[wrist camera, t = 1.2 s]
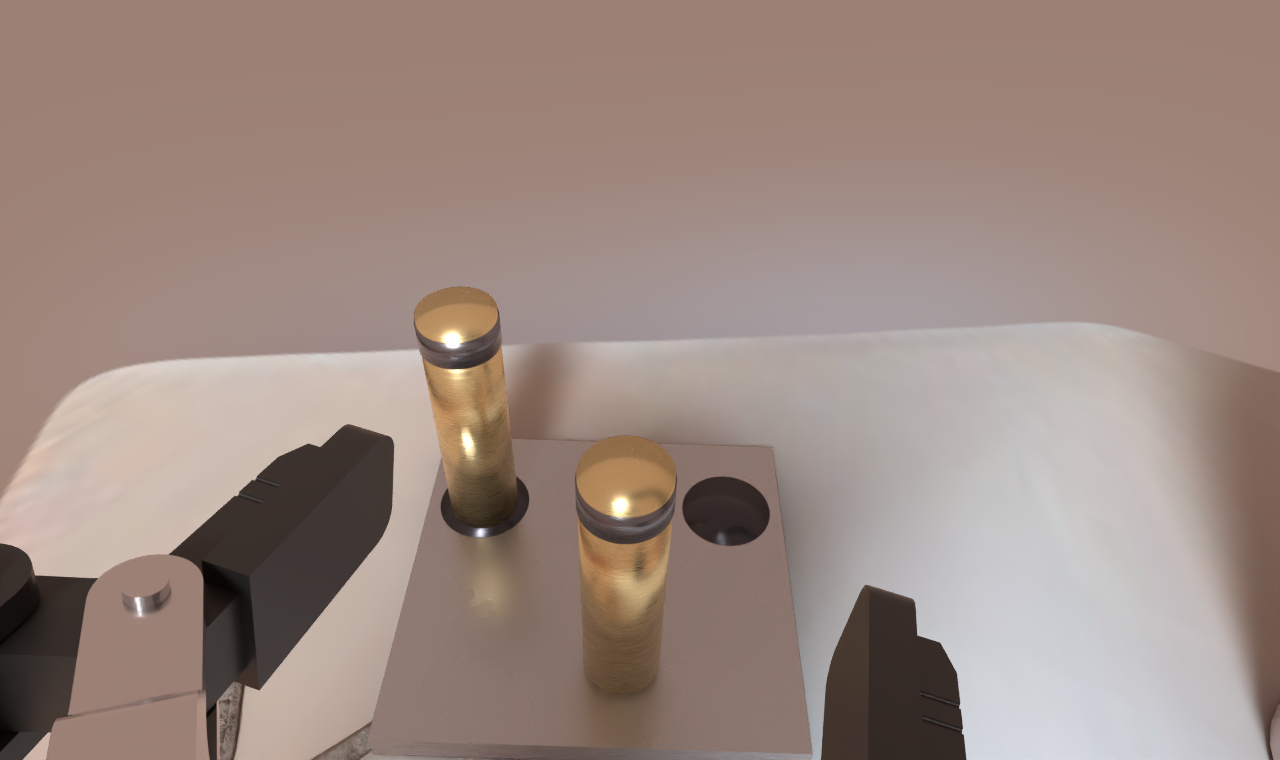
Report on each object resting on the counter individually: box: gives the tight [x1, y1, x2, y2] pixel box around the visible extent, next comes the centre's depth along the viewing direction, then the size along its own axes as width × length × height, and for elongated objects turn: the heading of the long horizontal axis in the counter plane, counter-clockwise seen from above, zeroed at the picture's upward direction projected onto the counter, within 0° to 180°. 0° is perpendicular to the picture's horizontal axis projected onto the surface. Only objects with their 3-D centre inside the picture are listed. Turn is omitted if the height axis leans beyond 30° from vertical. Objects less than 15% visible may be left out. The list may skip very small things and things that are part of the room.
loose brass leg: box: [575, 436, 677, 695], centre depth 29 cm, size 3×3×11 cm
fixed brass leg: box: [414, 287, 518, 528], centre depth 34 cm, size 3×3×11 cm
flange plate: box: [368, 439, 813, 760], centre depth 36 cm, size 16×15×1 cm
